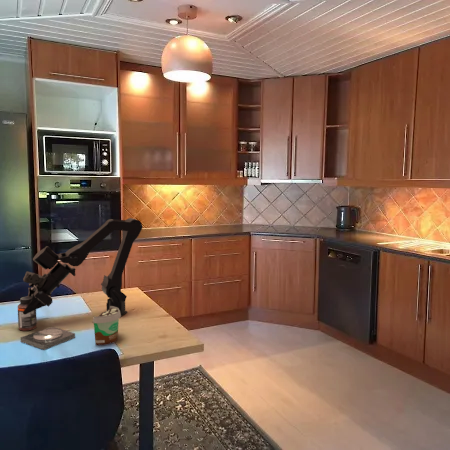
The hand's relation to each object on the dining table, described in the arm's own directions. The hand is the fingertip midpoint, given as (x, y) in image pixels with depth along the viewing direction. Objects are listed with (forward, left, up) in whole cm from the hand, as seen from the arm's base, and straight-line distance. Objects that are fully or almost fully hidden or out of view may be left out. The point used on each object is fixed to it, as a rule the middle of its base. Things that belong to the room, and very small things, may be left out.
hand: (22, 311), depth 145 cm
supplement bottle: (-1, -1, -7) cm, 7 cm away
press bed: (-15, +5, -7) cm, 17 cm away
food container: (-35, -1, -7) cm, 36 cm away
